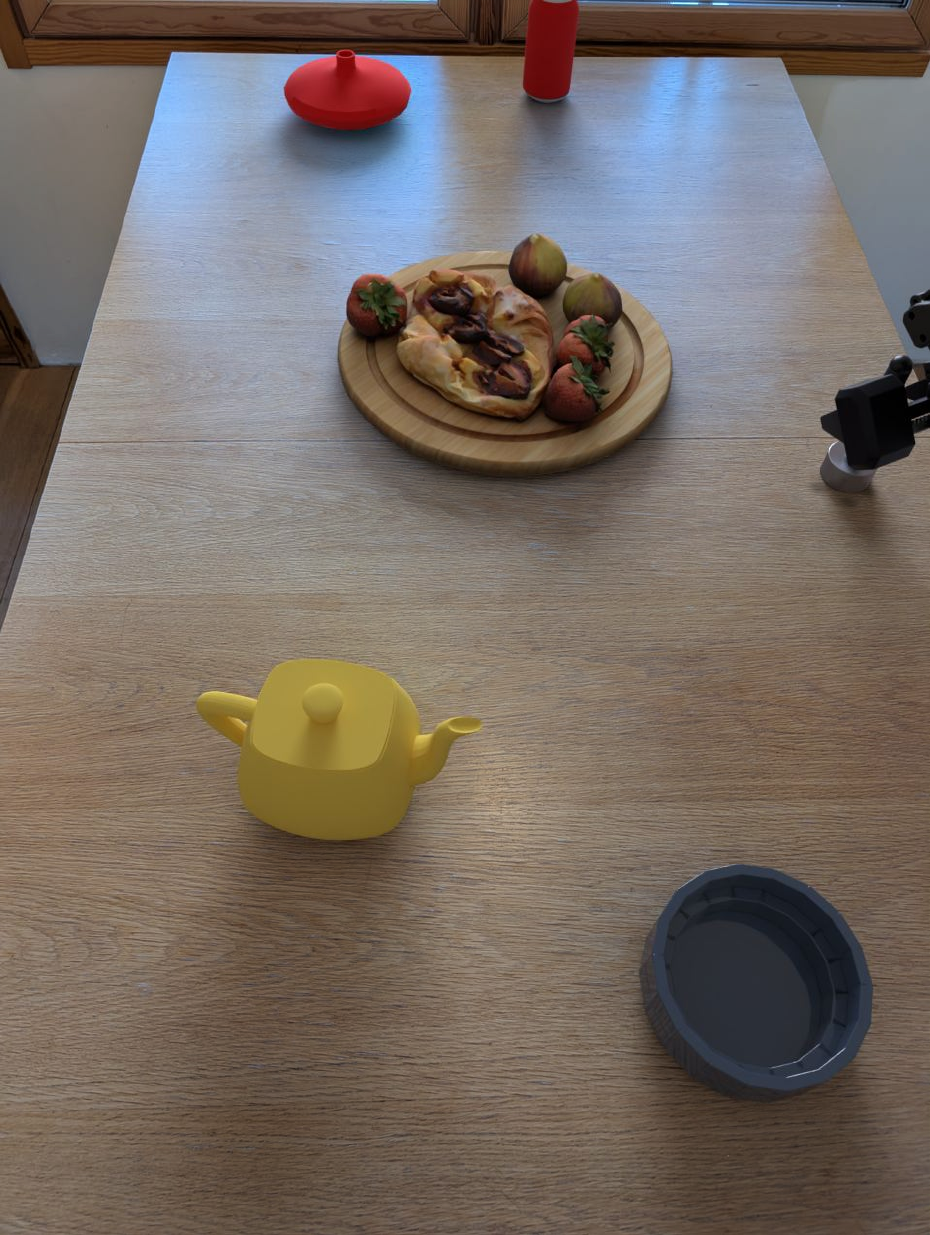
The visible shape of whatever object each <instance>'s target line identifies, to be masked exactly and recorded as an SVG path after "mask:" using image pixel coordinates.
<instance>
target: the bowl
mask: <svg viewBox="0 0 930 1235" xmlns="http://www.w3.org/2000/svg"><path fill="white" fill-rule="evenodd" d="M638 972H639V973H638V975H639V983H640V989H641V996H642V1002H643V1009H644V1011H645V1015H646V1016H647V1018H648V1020H649V1022H650V1025H651V1027H652V1028H653V1031H654V1033H655V1034H656V1037H657V1039H658V1041H659V1043H660V1045H661V1046H662V1047H663V1049H664V1051H666V1052H667V1054H668V1055H669V1056H670V1057H671V1058H672V1059H673V1060H674V1061H675V1062H676V1063H677V1064H678V1065H679V1066H680V1067H681V1069H682V1070H683V1071H684V1072H685V1073H686V1074H687V1075H688V1076H690V1078H692V1079H693V1080H695V1081H696V1082H698V1083H700V1084H702V1085H704V1086H706V1087H708V1088H709V1089H712V1090H713V1091H715V1092H717V1093H719V1094H720V1095H723V1096H724V1097H726V1098H729V1099H735V1100H741V1101H746V1102H747V1101H748V1102H754V1103H760V1104H770V1103H775V1102H779V1101H783V1100H787V1099H791V1098H794V1097H795V1098H796V1097H799V1096H803V1094H806V1093H808V1092H810V1091H812V1090H814V1089H816V1088H817V1087H819V1086H821V1085H823V1084H825V1083H827V1082H828V1081H830V1080H831V1079H832V1078H834V1077H835V1076H836V1075H837V1074H838V1073H839V1072H840V1071H842V1070H843V1069H845V1067H847V1066H848V1065H849V1064H851V1062H853V1061H854V1060H855V1059H856V1057H857V1056H858V1053H859V1051H860V1049H861V1047H862V1045H863V1042H864V1041H865V1038H866V1037H867V1034H868V1032H869V1030H870V1028H871V1025H872V1016H873V1014H872V1013H873V998H874V984H873V981H872V980H873V979H872V977H871V973H870V970H869V966H868V963H867V959H866V956H865V952H864V949H863V947H862V945H861V943H860V941H859V940H858V938H857V936H856V935H855V934H854V932H853V931H852V929H851V927H850V926H849V924H848V922H847V920H846V919H845V918H844V917H843V914H842V913H841V912H840V911H839V910H838V909H837V908H836V907H835V906H834V905H833V904H832V903H830V902H829V901H828V900H827V899H826V898H825V897H824V896H823V895H821V894H820V893H819V892H818V891H817V890H815V888H814V887H812V886H811V885H809V884H808V883H806V882H804V881H801V880H800V879H797V878H795V877H794V876H793V877H792V876H790V875H789V874H787V873H785V872H782V871H779V870H778V869H775V868H771V867H766V866H757V865H750V864H743V863H733V864H730V865H729V864H728V865H724V866H720V867H719V866H718V867H715V868H710V869H706V870H703V871H702V872H700V873H699V874H698V875H696V876H695V877H693V878H691V879H690V880H688V881H687V882H685V883H684V884H683V885H681V886H680V887H678V888H677V889H676V890H675V892H674V893H673V895H672V896H671V897H670V899H669V901H668V902H667V904H666V905H665V907H664V908H663V909H662V911H661V913H660V915H659V916H658V917H657V920H656V921H655V923H653V926H652V927H651V929H650V930H649V932H648V933H647V935H646V937H645V940H644V945H643V950H642V955H641V961H640V965H639V970H638Z"/></svg>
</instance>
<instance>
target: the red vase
mask: <svg viewBox="0 0 930 1235" xmlns="http://www.w3.org/2000/svg"><path fill="white" fill-rule="evenodd" d="M411 95H412V88H411V84H410V82H409V81H408V79H407V77H406V76H405V75H404V74H403V73H402V72H401V71H400V69H398V68H396V67H395V66H393V65H392V64H391V63H388V62H386V61H382V60H380V59H378V58H377V59H376V58H371V57H368V56H361V55H356V54H355V52H354V51H353V50H351V49H340V50H338V51H337V52H336V54H335V55H334V56H326V57H321V58H318V59H315V60H312V61H311V60H310V61H308V62H306V63H305V64H303V65H300V66H299V67H297V68H296V69H295V70H294V71H293V72H292V73H291V74H290V75H289V77H288V78H287V80H286V82H285V84H284V86H283V96H284V98H285V100H286V103H287V105H288V106H289V109H291V111H292V112H293V113H294V114H295V115H296V116H297V117H299V118H300V119H301V120H304V121H305V122H308V123H311V124H313V125H316V126H319V127H323V128H328V129H332V130H337V131H361V130H366V129H371V128H374V127H377V126H380V125H383V124H386V123H390V122H391V121H393V120H394V119H396V118H398V117H399V116H401V115H402V114H403V112H404V111H405V110H406V109H407V107H408V104H409V102H410V97H411Z"/></svg>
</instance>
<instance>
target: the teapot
mask: <svg viewBox="0 0 930 1235" xmlns="http://www.w3.org/2000/svg"><path fill="white" fill-rule="evenodd" d="M195 710H196V711H197V713H198V715H199V717H200V718H201V719H202V720H203V721H204V722H205V723H207V725H209V726H210V728H212V729H213V730H215V731H216V732H218V734H220V735H222V736H223V737H224V738H226V739H228V740H229V741H231V742H232V743H233V744H235V745H236V746H238V747H240V748H241V749H240V755H239V761H238V767H237V786H238V793H239V796H240V799H241V802H242V804H243V806H244V807H245V809H246V810H247V811H248V812H249V813H250V814H251V815H252V816H254V817H255V818H256V819H258V820H260V821H261V822H263V823H265V824H267V825H269V826H272V827H274V828H276V829H279V830H281V831H284V832H287V833H289V834H293V835H297V836H300V837H304V838H309V839H315V840H324V841H325V840H326V841H354V840H365V839H369V838H377V837H379V836H382V835H385V834H387V833H389V832H391V831H392V830H394V829H395V828H397V826H398V825H400V824H401V822H402V820H403V819H404V817H405V816H406V814H407V812H408V810H409V806H410V804H411V801H412V798H413V795H414V792H415V788H416V787H417V786H420V785H423V784H426V783H427V782H430V781H433V779H435V778H436V777H437V776H438V775H439V774H440V773H441V771H442V770H443V768H444V767H445V766H446V763H447V760H448V757H449V754H450V751H451V747H452V745H453V744H454V742H456V740H458V739H459V738H461V737H464V736H468V735H471V734H474V733H476V732H478V731H480V730H481V729H482V728H483V722H482V721H481V719H478V718H476V717H472V716H456V717H451V718H449V719H445V720H444V721H441V722H440V723H438V724H437V726H435V728H434V730H433V732H432V733H428V734H423V730H422V723H421V719H420V715H419V712H418V709H417V706H416V705H415V703H414V701H413V699H412V698H411V696H410V695H409V694H408V693H407V691H405V689H404V688H403V687H402V685H400V684H399V683H398V682H397V681H396V680H395V679H393V678H392V677H390V676H389V675H388V674H385V673H384V672H382V671H380V670H378V669H375V668H372V667H368V666H365V665H361V664H357V663H353V662H349V661H343V660H336V659H323V658H303V659H302V658H299V659H291V660H287V661H283V662H281V663H279V664H277V665H275V667H274V668H272V670H271V671H270V672H269V674H268V676H267V677H266V680H265V681H264V683H263V686H262V688H261V690H260V692H259V694H258V696H257V699H255V698H252V697H247V696H245V695H240V694H235V693H230V692H225V691H217V690H215V691H214V690H211V691H206V692H203V693H202V694H201V695H199V696H198V697H197V699H196V702H195ZM243 721H245V722H247V724H246V723H245V722H243Z"/></svg>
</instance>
